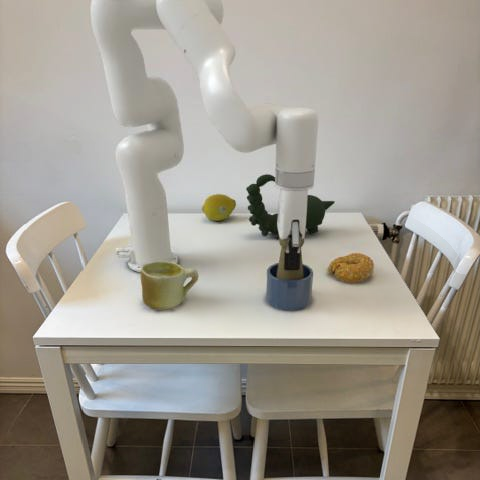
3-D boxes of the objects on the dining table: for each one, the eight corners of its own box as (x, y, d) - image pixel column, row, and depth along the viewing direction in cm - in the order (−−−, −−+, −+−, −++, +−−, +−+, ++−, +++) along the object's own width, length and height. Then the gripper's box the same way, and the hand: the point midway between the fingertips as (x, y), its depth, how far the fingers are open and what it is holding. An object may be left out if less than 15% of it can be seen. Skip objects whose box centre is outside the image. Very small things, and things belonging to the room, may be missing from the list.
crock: (267, 311, 103) (268, 281, 99) (265, 289, 111) (266, 261, 108) (313, 310, 103) (316, 281, 99) (307, 289, 111) (309, 261, 108)
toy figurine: (255, 249, 135) (340, 235, 138) (249, 182, 125) (341, 168, 128) (248, 236, 143) (329, 223, 146) (242, 173, 133) (329, 160, 136)
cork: (302, 287, 101) (305, 237, 96) (274, 284, 102) (275, 236, 97) (305, 274, 106) (308, 227, 101) (277, 272, 107) (279, 225, 102)
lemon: (203, 225, 147) (202, 199, 143) (201, 216, 154) (199, 191, 150) (238, 223, 149) (238, 197, 145) (234, 214, 155) (234, 190, 151)
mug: (132, 308, 100) (138, 261, 98) (140, 299, 110) (147, 256, 108) (190, 318, 101) (198, 272, 99) (193, 308, 111) (200, 266, 109)
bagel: (334, 263, 123) (336, 245, 121) (377, 271, 119) (380, 253, 116) (321, 278, 116) (322, 260, 113) (366, 288, 111) (369, 269, 109)
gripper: (272, 167, 100) (270, 248, 110) (278, 191, 86) (275, 282, 95) (308, 166, 100) (303, 248, 110) (320, 190, 86) (313, 282, 95)
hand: (290, 263), depth 102 cm, fingers closed on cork, 4 cm apart
